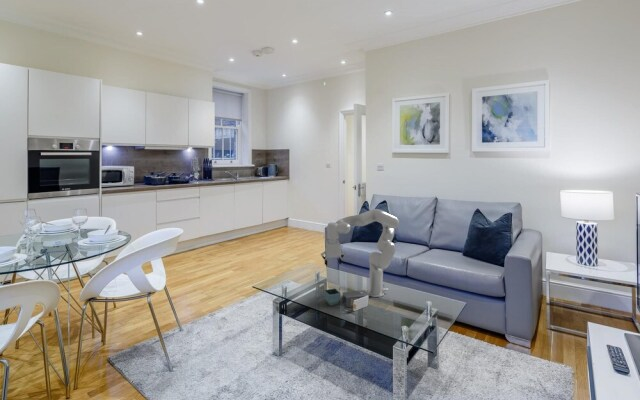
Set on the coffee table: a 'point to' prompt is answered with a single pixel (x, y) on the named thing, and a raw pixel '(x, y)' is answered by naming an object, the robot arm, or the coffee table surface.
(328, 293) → the flower pot
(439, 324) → the coffee table surface
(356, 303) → the side door
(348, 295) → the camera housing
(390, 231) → the robot arm
